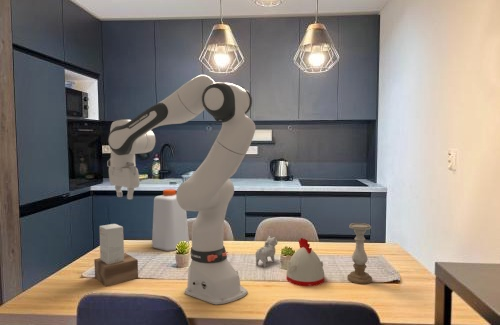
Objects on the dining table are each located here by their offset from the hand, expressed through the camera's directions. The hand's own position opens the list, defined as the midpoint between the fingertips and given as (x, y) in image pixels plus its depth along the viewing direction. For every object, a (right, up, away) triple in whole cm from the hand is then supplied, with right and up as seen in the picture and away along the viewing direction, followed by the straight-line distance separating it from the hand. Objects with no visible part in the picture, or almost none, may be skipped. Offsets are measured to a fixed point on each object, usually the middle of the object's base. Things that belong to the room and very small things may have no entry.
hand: (124, 197), depth 141 cm
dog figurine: (+55, -29, +14) cm, 64 cm away
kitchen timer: (+69, -30, -5) cm, 75 cm away
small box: (-4, -23, -3) cm, 24 cm away
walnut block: (-3, -30, -2) cm, 30 cm away
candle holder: (+89, -30, -7) cm, 94 cm away
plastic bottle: (+9, -28, +40) cm, 49 cm away
